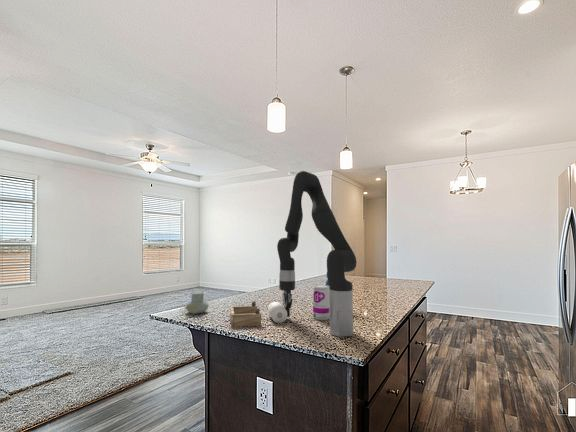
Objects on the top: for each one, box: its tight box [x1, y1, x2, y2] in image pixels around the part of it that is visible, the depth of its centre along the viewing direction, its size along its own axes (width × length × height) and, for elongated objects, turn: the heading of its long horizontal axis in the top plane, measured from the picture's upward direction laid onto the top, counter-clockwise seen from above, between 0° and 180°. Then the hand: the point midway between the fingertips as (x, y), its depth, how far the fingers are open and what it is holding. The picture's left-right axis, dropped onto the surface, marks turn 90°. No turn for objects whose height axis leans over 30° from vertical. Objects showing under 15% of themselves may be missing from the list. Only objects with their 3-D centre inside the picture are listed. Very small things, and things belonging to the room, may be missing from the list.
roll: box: [267, 301, 288, 324], centre depth 147 cm, size 12×7×7 cm, turn 12°
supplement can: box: [312, 284, 330, 321], centre depth 150 cm, size 8×8×15 cm
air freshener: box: [185, 291, 209, 315], centre depth 161 cm, size 11×8×10 cm
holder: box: [229, 301, 262, 328], centre depth 144 cm, size 18×13×7 cm
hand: (287, 316), depth 148 cm, fingers closed
